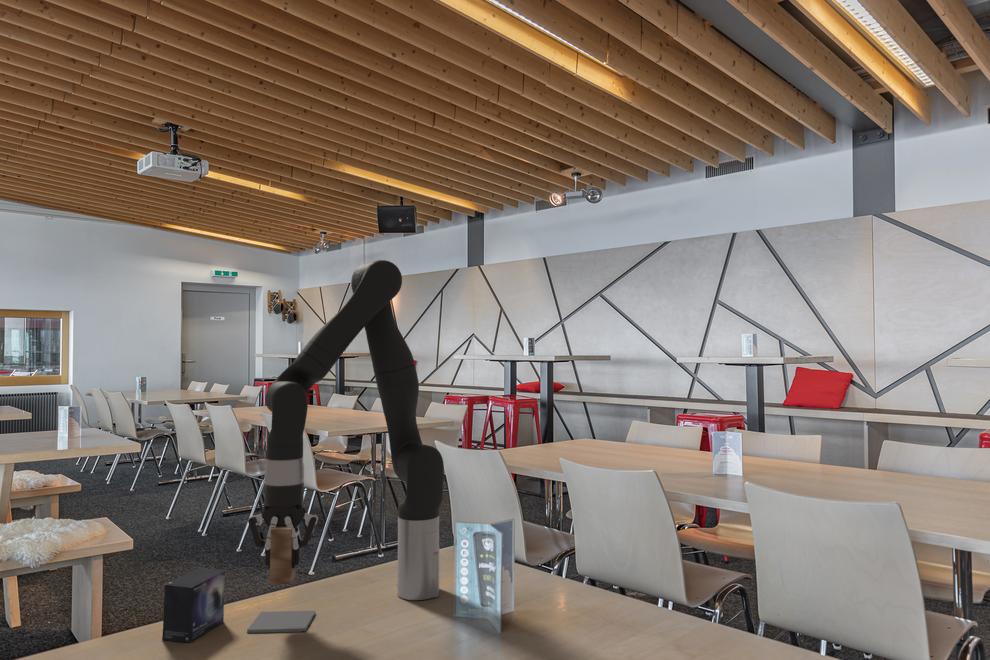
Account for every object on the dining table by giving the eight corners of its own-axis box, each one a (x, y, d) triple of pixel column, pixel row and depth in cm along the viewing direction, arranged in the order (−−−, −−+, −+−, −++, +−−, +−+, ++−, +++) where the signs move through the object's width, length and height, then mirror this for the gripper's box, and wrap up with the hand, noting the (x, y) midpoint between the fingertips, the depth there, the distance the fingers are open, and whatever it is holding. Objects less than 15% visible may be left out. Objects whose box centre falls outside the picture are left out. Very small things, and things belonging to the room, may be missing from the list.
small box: (191, 644, 122) (192, 586, 122) (160, 641, 123) (161, 584, 124) (225, 621, 132) (226, 568, 133) (197, 619, 134) (197, 566, 134)
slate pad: (315, 613, 136) (315, 610, 136) (305, 631, 127) (305, 628, 127) (261, 614, 136) (261, 611, 136) (247, 632, 127) (247, 629, 127)
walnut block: (295, 577, 134) (296, 522, 134) (290, 584, 130) (291, 527, 130) (275, 577, 134) (276, 523, 134) (269, 584, 130) (270, 527, 130)
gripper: (324, 477, 137) (322, 561, 136) (254, 477, 136) (252, 562, 135) (316, 484, 129) (314, 573, 129) (242, 484, 129) (240, 573, 128)
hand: (282, 566), depth 132 cm, fingers closed on walnut block, 4 cm apart
